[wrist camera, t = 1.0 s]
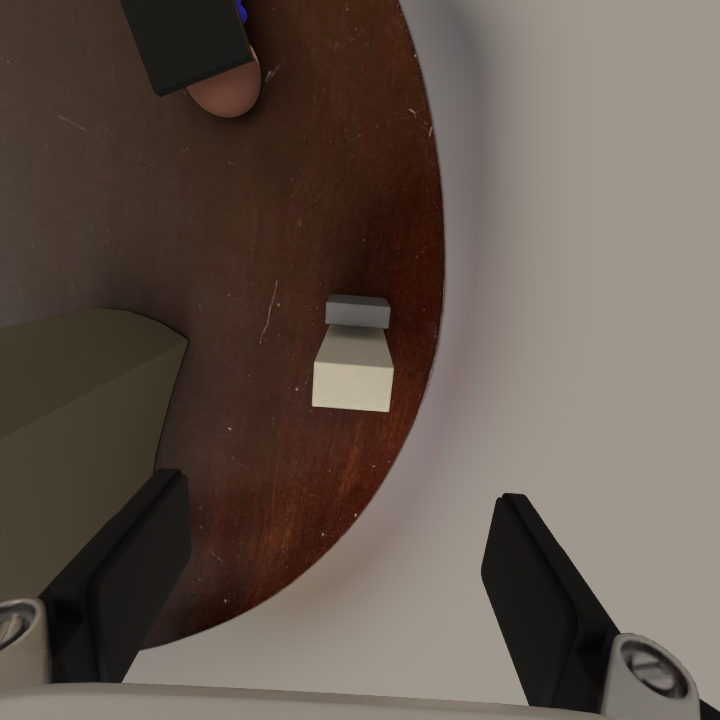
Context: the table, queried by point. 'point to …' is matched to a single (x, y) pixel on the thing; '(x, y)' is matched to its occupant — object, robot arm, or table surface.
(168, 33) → the figurine character
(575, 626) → the robot arm
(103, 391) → the book
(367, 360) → the beige rectangular block
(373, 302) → the grey rectangular blocks
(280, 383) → the table surface
